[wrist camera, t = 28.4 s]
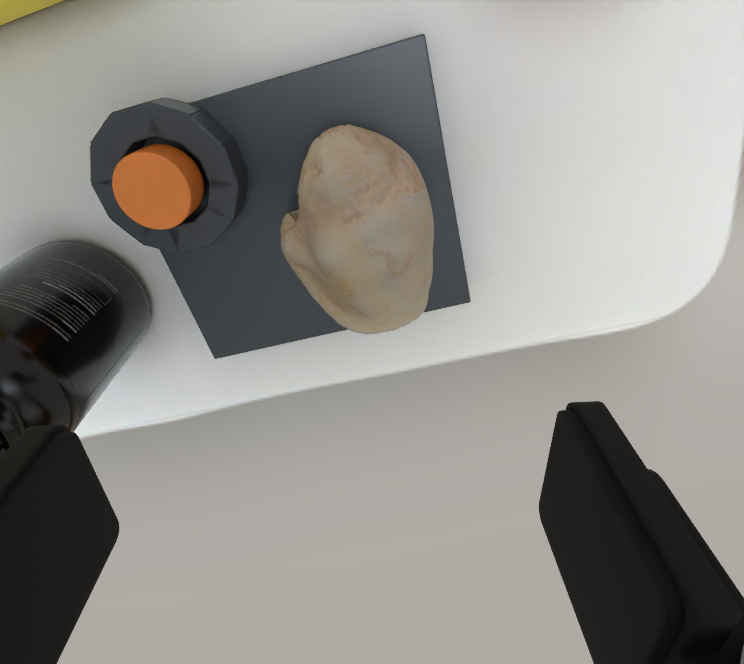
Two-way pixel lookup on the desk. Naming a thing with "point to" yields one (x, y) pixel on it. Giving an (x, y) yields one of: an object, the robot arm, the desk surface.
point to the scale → (278, 186)
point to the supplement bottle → (63, 333)
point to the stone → (362, 231)
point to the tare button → (158, 186)
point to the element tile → (21, 8)
